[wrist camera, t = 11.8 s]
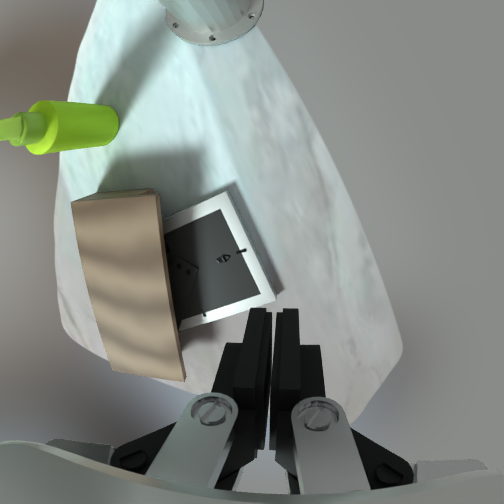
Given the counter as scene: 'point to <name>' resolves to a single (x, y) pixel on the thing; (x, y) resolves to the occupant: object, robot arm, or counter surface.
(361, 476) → the robot arm
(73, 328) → the counter surface
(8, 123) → the soap dispenser
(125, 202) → the walnut shelf
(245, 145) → the counter surface
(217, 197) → the picture frame
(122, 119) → the counter surface
